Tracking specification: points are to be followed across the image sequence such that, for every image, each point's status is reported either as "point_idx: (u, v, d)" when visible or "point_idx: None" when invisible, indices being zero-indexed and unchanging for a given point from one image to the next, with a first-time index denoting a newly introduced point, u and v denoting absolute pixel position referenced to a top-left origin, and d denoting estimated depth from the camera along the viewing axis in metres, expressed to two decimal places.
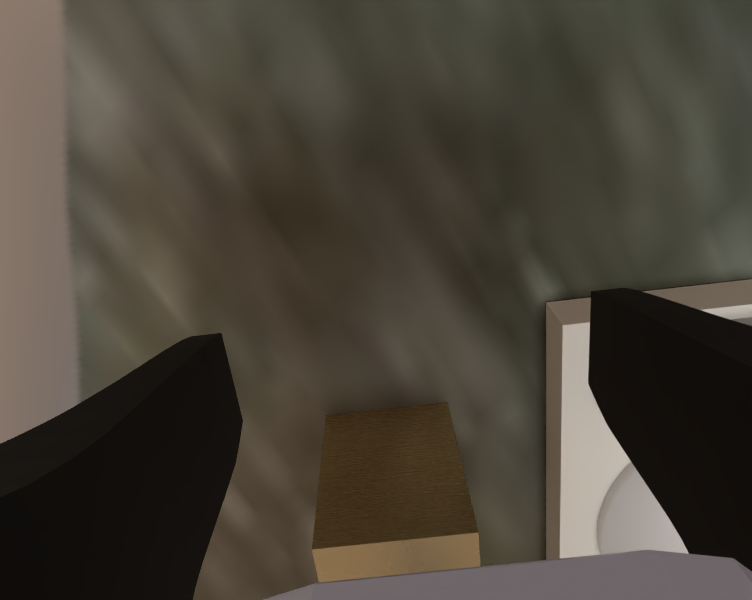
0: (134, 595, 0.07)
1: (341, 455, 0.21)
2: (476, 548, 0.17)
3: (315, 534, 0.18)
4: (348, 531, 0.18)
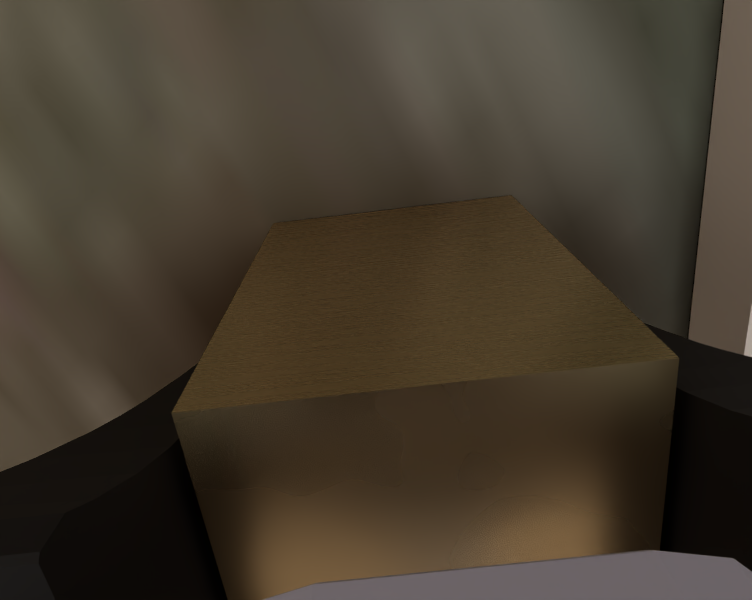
0: (218, 587, 0.07)
1: (293, 262, 0.10)
2: (664, 413, 0.06)
3: (193, 382, 0.06)
4: (287, 371, 0.06)
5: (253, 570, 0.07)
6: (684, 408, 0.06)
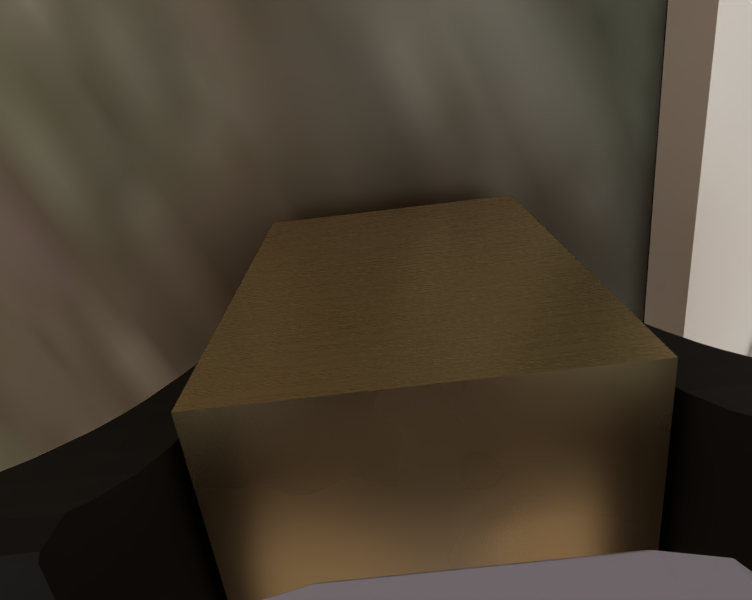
0: (217, 587, 0.07)
1: (292, 262, 0.10)
2: (663, 412, 0.06)
3: (193, 381, 0.06)
4: (287, 371, 0.06)
5: (253, 569, 0.07)
6: (684, 408, 0.06)
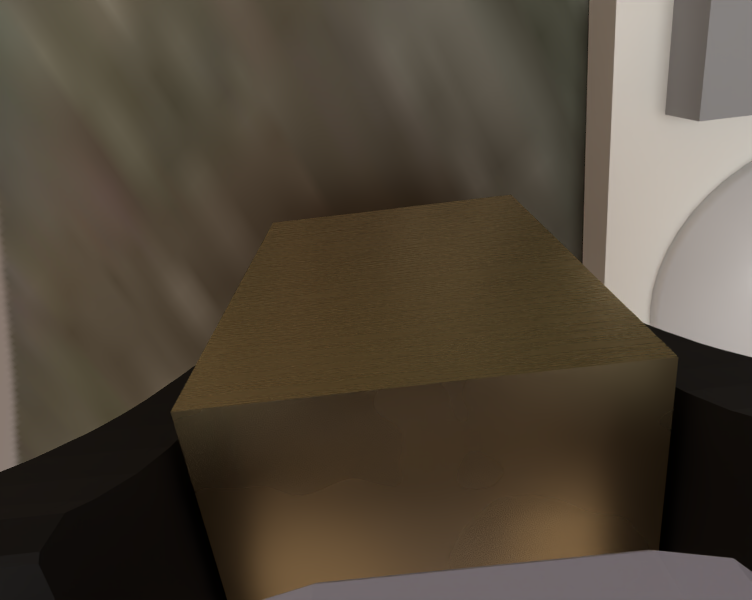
0: (217, 586, 0.07)
1: (293, 262, 0.10)
2: (663, 412, 0.06)
3: (192, 381, 0.06)
4: (286, 371, 0.06)
5: (252, 569, 0.07)
6: (684, 407, 0.06)
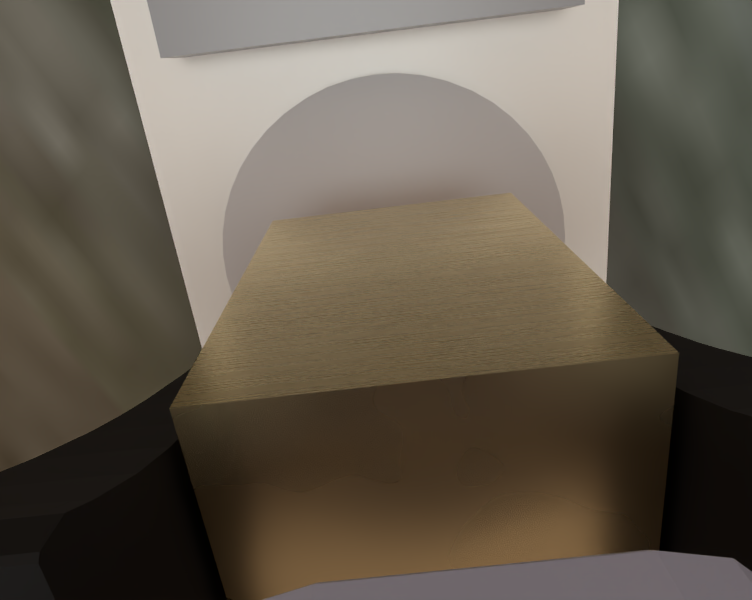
0: (217, 587, 0.07)
1: (292, 259, 0.10)
2: (664, 409, 0.06)
3: (192, 377, 0.06)
4: (286, 367, 0.06)
5: (252, 567, 0.07)
6: (684, 408, 0.06)
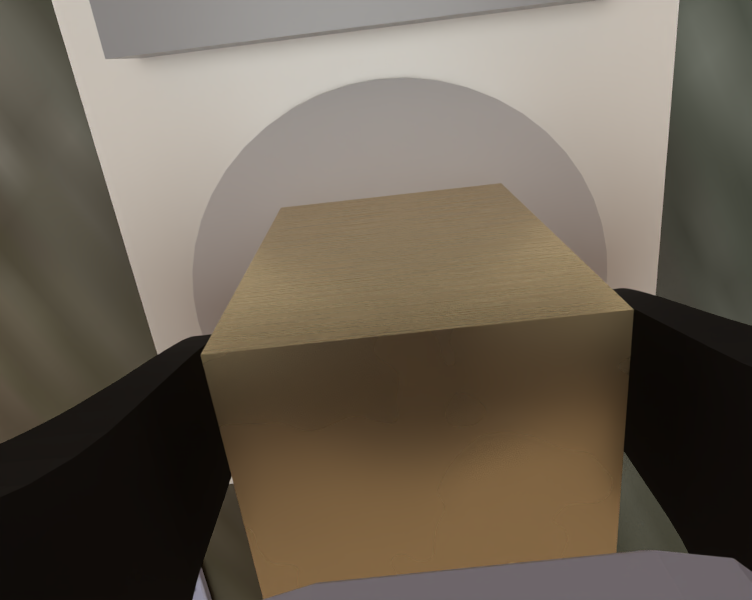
0: (134, 595, 0.07)
1: (300, 239, 0.11)
2: (622, 359, 0.07)
3: (217, 332, 0.07)
4: (298, 324, 0.07)
5: (267, 498, 0.08)
6: None
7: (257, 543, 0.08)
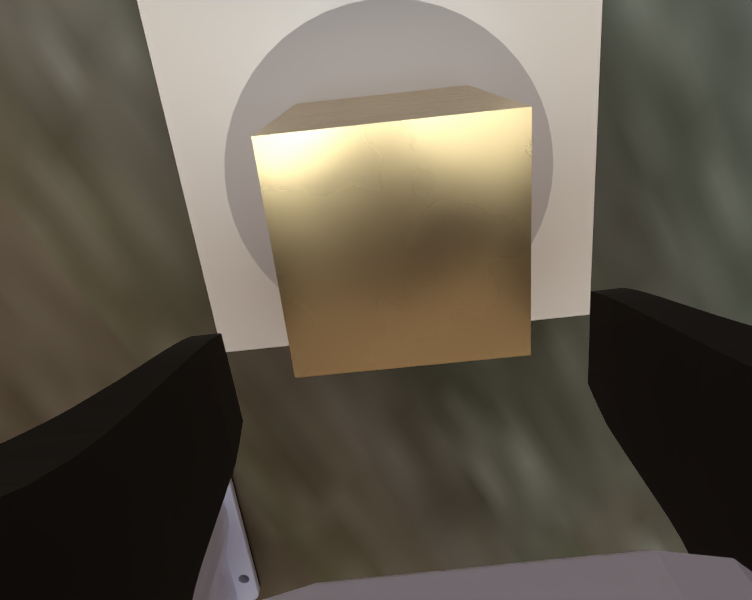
0: (134, 595, 0.07)
1: (312, 110, 0.14)
2: (526, 144, 0.10)
3: (260, 132, 0.11)
4: (314, 126, 0.11)
5: (292, 250, 0.11)
6: None
7: (284, 288, 0.12)
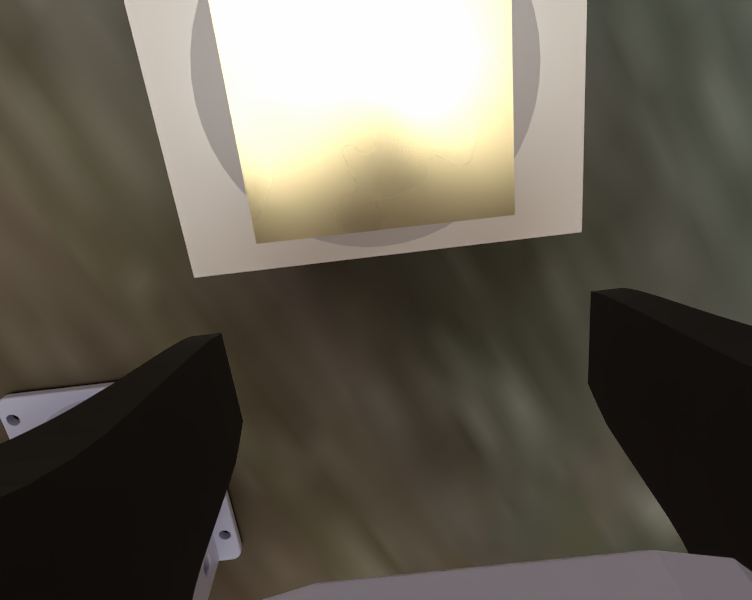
0: (134, 595, 0.07)
1: None
2: None
3: None
4: None
5: (248, 87, 0.10)
6: None
7: (240, 134, 0.10)
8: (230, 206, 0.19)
